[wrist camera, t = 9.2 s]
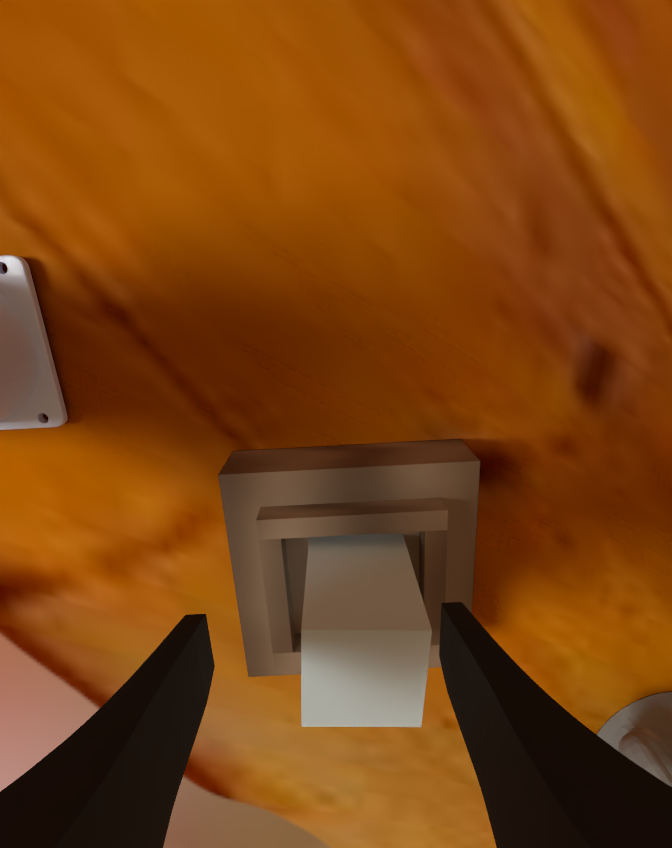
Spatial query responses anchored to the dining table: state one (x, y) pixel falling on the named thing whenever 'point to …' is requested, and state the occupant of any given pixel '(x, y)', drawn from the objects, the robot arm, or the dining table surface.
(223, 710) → the dining table surface
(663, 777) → the grey can
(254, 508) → the taupe stepped square slab
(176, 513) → the dining table surface
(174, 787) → the robot arm
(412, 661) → the block
